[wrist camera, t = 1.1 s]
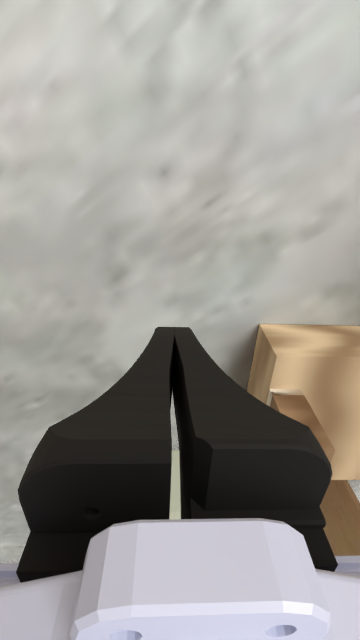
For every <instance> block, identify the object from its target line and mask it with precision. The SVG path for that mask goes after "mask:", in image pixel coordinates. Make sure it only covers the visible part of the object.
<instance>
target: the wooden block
mask: <svg viewBox="0 0 360 640" xmlns="http://www.w3.org/2000/svg"><path fill="white" fill-rule="evenodd" d="M320 508H321V511H322V513H323V515H324V518H325V520H326V526H325V528H323V529H324V532H325V534H326V536H327V539H328V541H329V544H330V546H331V549H332V551H333V553H334V556H359V555H360V503H359V501H358V499H357V497H356V495H355V494H354V492H353V490H352V488H351V486H350V484H349V483H348V481H347V480H331V481H330V484H329V486H328V489H327V491H326V493H325V495H324V497H323V500H322V502H321V504H320Z"/></svg>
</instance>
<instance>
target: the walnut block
mask: <svg viewBox="0 0 360 640" xmlns="http://www.w3.org/2000/svg"><path fill="white" fill-rule="evenodd" d="M266 405H268V406H270V407H271V408H273V409H275V410H276V411H278V412H280V413H282V414H284V415H286V416H288V417H290V418H292V419H294V420H296V421H298V422H300V423H302V424H304V425H306V426H308V427H309V428H310V429H311V431H312V432H313V434H314V435H315V437H316V438H317V440H318V441H319V443H320V445H321V447H322V448H323V450H324V452H325V454H326V456H327V458H328V460H329V462H331V460H332V457H333V455H334V453H335V449H334V447H333V445H332V443H331V442H330V440H329V438H328V436H327V435H326V433H325V431H324V429H323V428H322V426H321V424H320V422H319V420H318V419H317V417H316V415H315V413H314V412H313V410H312V408H311V406H310V404H309V403H308V401H307V399H306V397H305V396H304V394H303V392H302V390H301V389H270V391H269V395H268V399H267V403H266Z"/></svg>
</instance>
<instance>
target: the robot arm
mask: <svg viewBox="0 0 360 640" xmlns="http://www.w3.org/2000/svg"><path fill="white" fill-rule="evenodd" d="M172 391H173V399H174V408H175V416H176V424H177V432H178V441H179V460H180V503H181V519H169V516H170V492H171V469H172V439H171V420H170V408H171V398H172ZM331 477H332V468H331V464H330V462H329V460H328V458H327V456H326V454H325V452H324V450H323V448H322V447H321V445H320V443H319V441H318V440H317V438H316V437H315V435H314V434H313V432H312V431H311V429H310V428H309V427H308V426H306V425H304V424H302V423H300V422H298V421H296V420H294V419H292V418H290V417H288V416H286V415H284V414H282V413H280V412H278V411H276V410H275V409H273V408H271V407H270V406H268V405H266V404H265V403H263V402H261V401H260V400H258V399H257V398H255V397H254V396H252V395H251V394H250V393H248V392H247V391H246V390H244V389H243V388H242V387H240V386H239V385H238V384H237V383H235V382H234V381H233V380H232V379H231V378H230V377H229V376H227V375H226V374H225V373H224V372H223V371H222V370H221V369H220V367H219V366H218V365H217V364H216V363H215V362H214V361H213V360H212V358H211V357H210V356H209V355H208V353H207V352H206V351H205V350H204V348H203V347H202V346H201V344H200V343H199V341H198V340H197V338H196V337H195V335H194V333H193V331H192V330H191V329H190V328H189V327H157V328H156V329H155V332H154V334H153V336H152V338H151V340H150V342H149V343H148V345H147V347H146V348H145V350H144V351H143V353H142V354H141V355H140V357H139V358H138V359H137V361H136V362H135V363H134V364H133V366H132V367H131V368H130V369H129V370H128V372H127V373H126V374H125V375H124V376H123V377H122V378H121V379H120V380H119V381H118V382H117V383H116V384H114V385H113V386H112V387H111V388H110V389H109V390H108V391H107V392H105V393H104V394H103V395H102V396H100V397H99V398H98V399H96V400H95V401H93V402H92V403H91V404H89V405H88V406H86V407H85V408H83V409H81V410H80V411H78V412H77V413H75V414H73V415H71V416H69V417H68V418H66V419H64V420H62V421H60V422H58V423H57V424H55V425H53V426H51V427H49V428H48V430H47V431H46V433H45V435H44V436H43V438H42V440H41V441H40V443H39V444H38V446H37V448H36V449H35V451H34V453H33V455H32V457H31V459H30V461H29V464H28V466H27V468H26V471H25V473H24V475H23V477H22V480H21V482H20V485H19V488H18V494H19V501H20V503H21V506H22V509H23V512H24V514H25V517H26V520H27V523H28V526H29V528H30V531H31V532H30V535H29V537H28V540H27V543H26V546H25V548H24V551H23V554H22V557H21V559H20V562H19V563H0V640H360V555H359V556H334V553H333V551H332V549H331V546H330V544H329V541H328V539H327V536H326V534H325V532H324V529H323V528H325V526H326V520H325V518H324V515H323V513H322V511H321V508H320V504H321V502H322V500H323V497H324V495H325V493H326V491H327V489H328V486H329V484H330V481H331Z"/></svg>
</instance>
